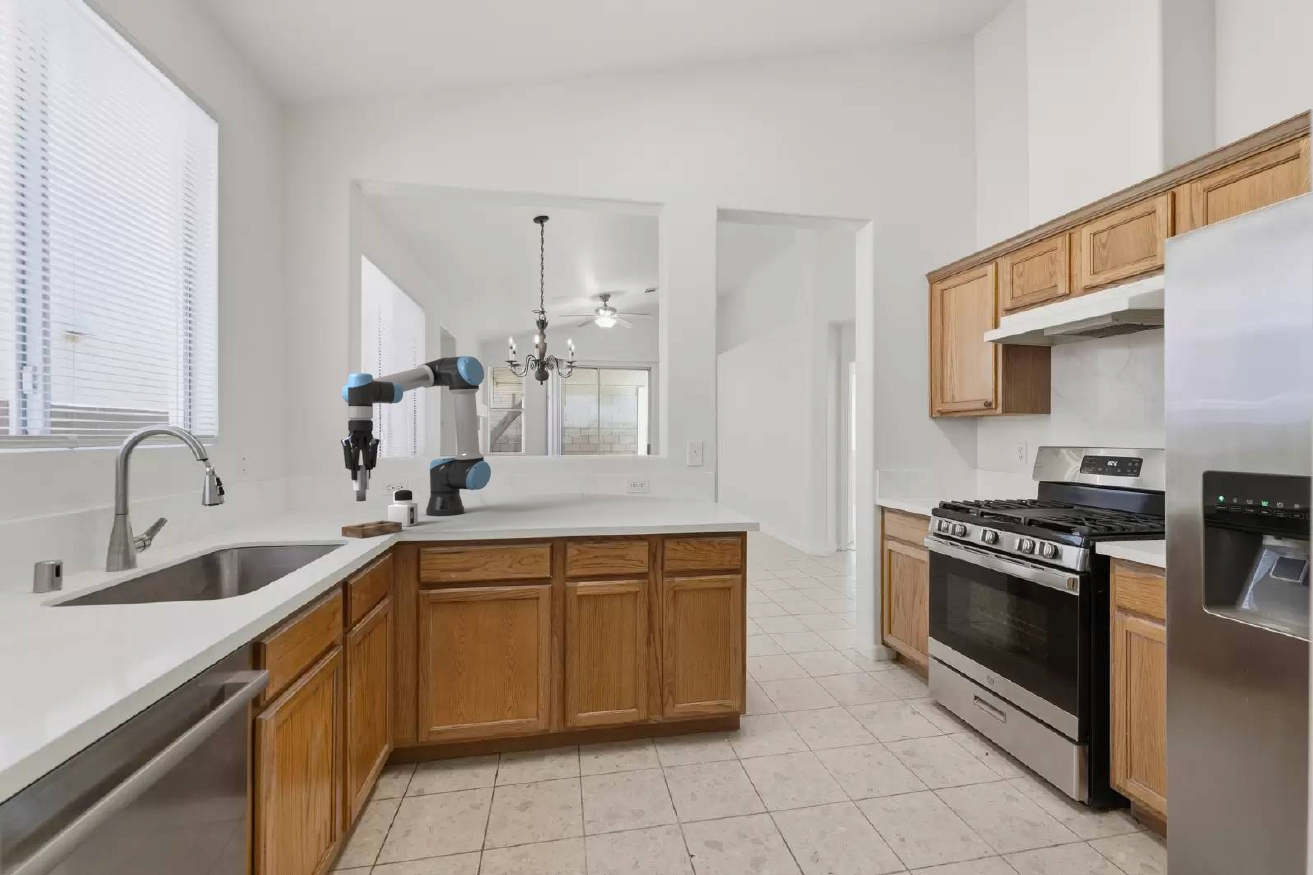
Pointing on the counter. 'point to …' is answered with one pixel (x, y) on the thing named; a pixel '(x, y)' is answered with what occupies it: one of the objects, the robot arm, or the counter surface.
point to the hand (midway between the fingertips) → (361, 489)
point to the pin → (362, 484)
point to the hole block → (371, 529)
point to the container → (403, 509)
